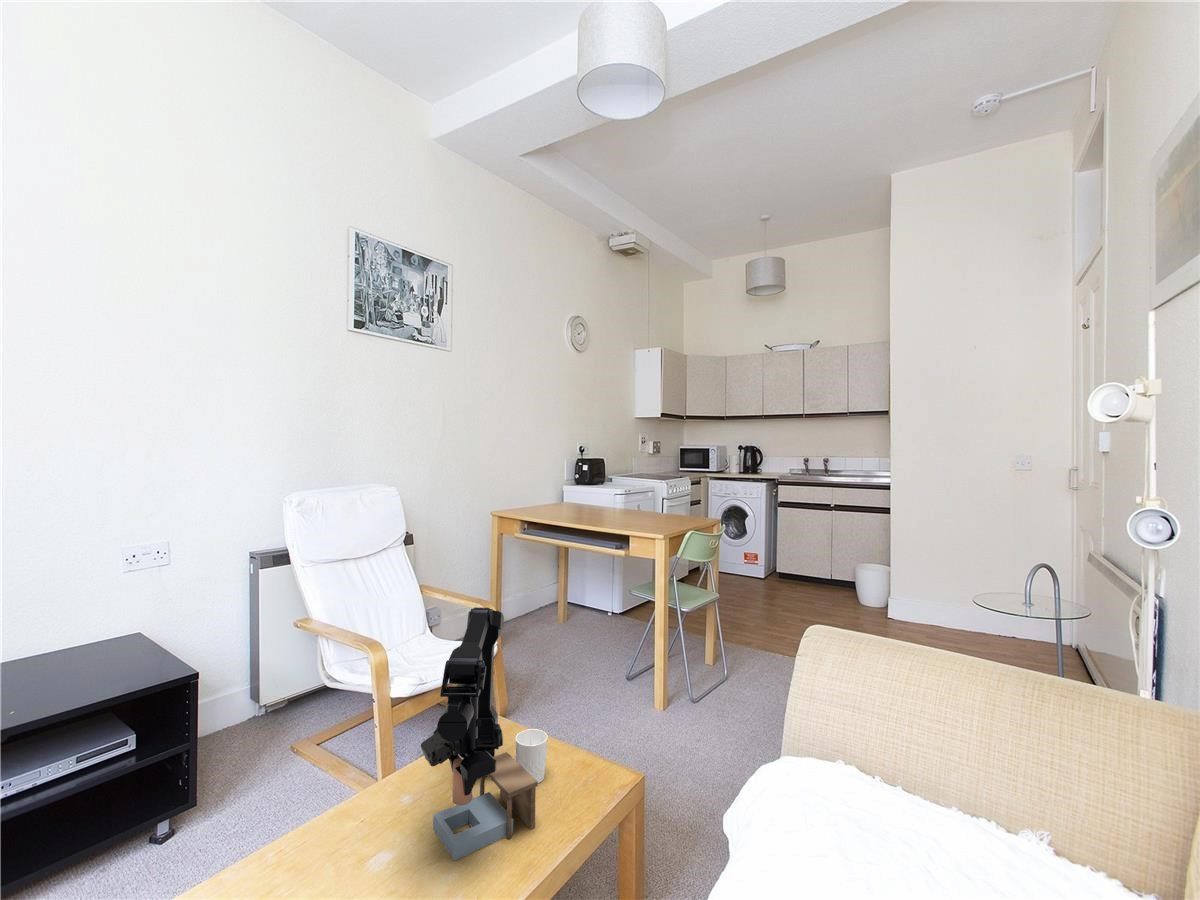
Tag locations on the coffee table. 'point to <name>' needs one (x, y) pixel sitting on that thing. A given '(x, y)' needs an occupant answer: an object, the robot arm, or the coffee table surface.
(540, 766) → the white cup
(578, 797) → the coffee table surface
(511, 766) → the brown wooden table shape
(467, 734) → the robot arm
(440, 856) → the coffee table surface
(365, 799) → the coffee table surface
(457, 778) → the peg
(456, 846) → the socket block
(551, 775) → the coffee table surface
